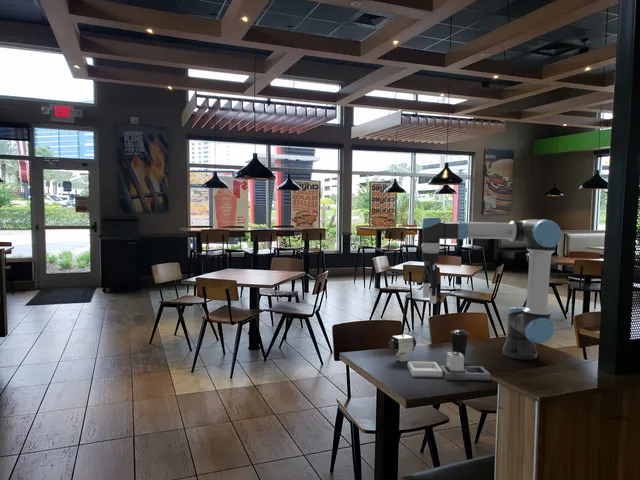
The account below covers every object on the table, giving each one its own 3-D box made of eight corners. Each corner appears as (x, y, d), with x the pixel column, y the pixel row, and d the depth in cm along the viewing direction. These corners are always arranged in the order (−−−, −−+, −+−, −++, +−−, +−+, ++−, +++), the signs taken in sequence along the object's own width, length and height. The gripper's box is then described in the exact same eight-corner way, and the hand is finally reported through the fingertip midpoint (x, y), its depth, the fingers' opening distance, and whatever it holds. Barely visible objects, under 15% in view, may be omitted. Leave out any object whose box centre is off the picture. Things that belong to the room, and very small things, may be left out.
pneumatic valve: (388, 360, 219) (388, 333, 219) (410, 357, 224) (410, 331, 223) (394, 363, 214) (395, 337, 214) (416, 361, 219) (417, 334, 218)
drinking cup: (468, 365, 214) (470, 320, 213) (450, 364, 216) (451, 319, 214) (466, 360, 222) (468, 317, 220) (449, 359, 223) (450, 315, 222)
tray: (435, 367, 210) (435, 361, 210) (442, 377, 198) (442, 371, 198) (407, 367, 210) (407, 361, 210) (413, 376, 198) (413, 370, 198)
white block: (459, 373, 203) (460, 351, 203) (463, 378, 198) (464, 354, 197) (446, 373, 203) (446, 350, 203) (449, 377, 198) (450, 354, 197)
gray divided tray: (481, 372, 206) (482, 366, 206) (490, 380, 196) (490, 374, 196) (439, 371, 205) (439, 365, 205) (445, 379, 195) (446, 373, 195)
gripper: (416, 249, 226) (415, 295, 228) (428, 254, 201) (427, 305, 203) (432, 250, 226) (431, 295, 228) (446, 255, 201) (445, 305, 203)
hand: (429, 300), depth 215 cm, fingers open, 13 cm apart
